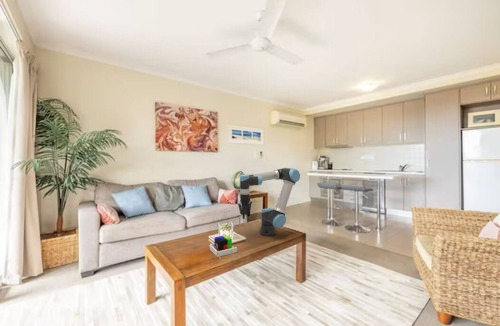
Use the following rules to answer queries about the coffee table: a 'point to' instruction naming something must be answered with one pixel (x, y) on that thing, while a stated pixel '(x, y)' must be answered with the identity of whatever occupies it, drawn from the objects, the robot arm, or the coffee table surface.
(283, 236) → the coffee table surface
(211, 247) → the tray
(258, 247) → the coffee table surface
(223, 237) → the puzzle toy
